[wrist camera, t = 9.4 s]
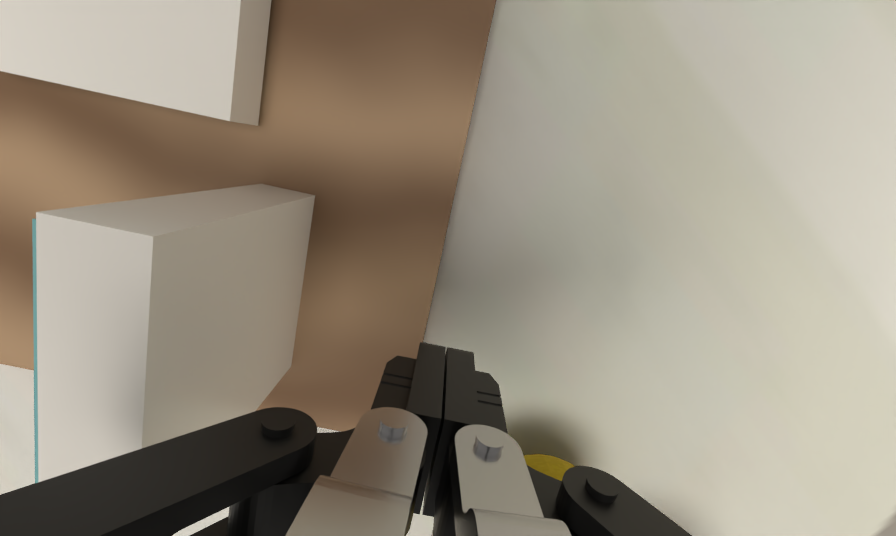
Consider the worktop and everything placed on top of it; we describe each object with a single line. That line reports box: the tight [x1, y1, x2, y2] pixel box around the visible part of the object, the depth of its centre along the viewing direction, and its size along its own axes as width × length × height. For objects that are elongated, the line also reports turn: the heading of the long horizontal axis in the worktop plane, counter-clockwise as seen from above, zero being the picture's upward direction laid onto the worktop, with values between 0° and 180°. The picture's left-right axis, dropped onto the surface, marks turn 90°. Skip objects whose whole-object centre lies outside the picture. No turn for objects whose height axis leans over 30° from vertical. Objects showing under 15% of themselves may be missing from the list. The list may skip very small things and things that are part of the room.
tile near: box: [32, 184, 315, 483], centre depth 13 cm, size 7×2×9 cm, turn 168°
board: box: [0, 0, 496, 431], centre depth 17 cm, size 20×18×1 cm
